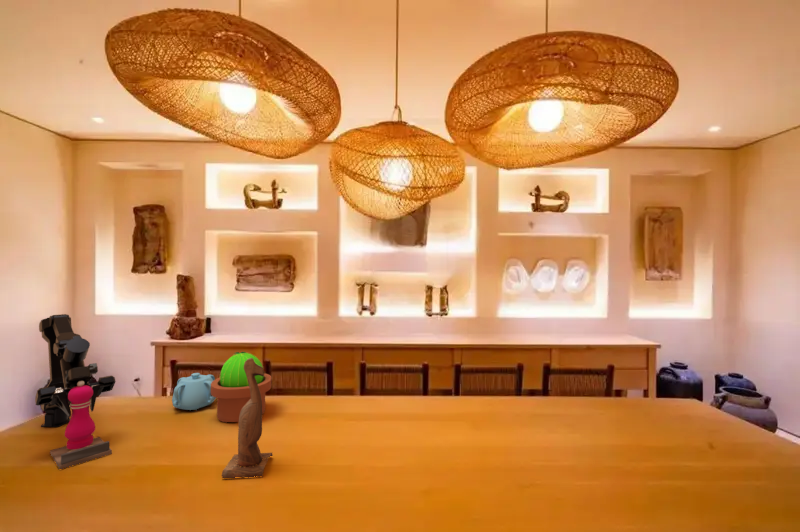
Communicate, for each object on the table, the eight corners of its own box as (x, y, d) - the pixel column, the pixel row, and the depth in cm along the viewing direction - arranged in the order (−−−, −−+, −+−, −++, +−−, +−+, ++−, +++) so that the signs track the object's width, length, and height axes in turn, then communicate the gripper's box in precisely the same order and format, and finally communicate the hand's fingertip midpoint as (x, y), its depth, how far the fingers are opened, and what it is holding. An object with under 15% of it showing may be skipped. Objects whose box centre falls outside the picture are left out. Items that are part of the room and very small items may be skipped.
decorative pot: (213, 411, 149) (214, 377, 149) (167, 415, 143) (168, 380, 144) (219, 397, 164) (219, 367, 164) (177, 401, 159) (178, 369, 159)
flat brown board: (49, 454, 113) (50, 442, 113) (99, 440, 123) (99, 429, 123) (59, 470, 105) (59, 457, 105) (111, 453, 114) (111, 441, 114)
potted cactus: (267, 423, 138) (268, 356, 138) (203, 428, 133) (204, 359, 133) (273, 402, 159) (274, 344, 159) (218, 406, 154) (219, 346, 154)
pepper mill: (68, 453, 110) (69, 386, 110) (61, 445, 114) (62, 381, 114) (98, 443, 116) (99, 380, 115) (90, 436, 120) (91, 375, 120)
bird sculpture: (265, 479, 102) (271, 363, 103) (220, 481, 100) (227, 363, 101) (272, 458, 113) (278, 354, 114) (232, 460, 111) (238, 354, 112)
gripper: (37, 361, 110) (43, 408, 103) (114, 351, 125) (124, 391, 118) (32, 382, 115) (38, 428, 108) (107, 370, 129) (116, 409, 123)
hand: (81, 413), depth 114 cm, fingers closed on pepper mill, 5 cm apart
